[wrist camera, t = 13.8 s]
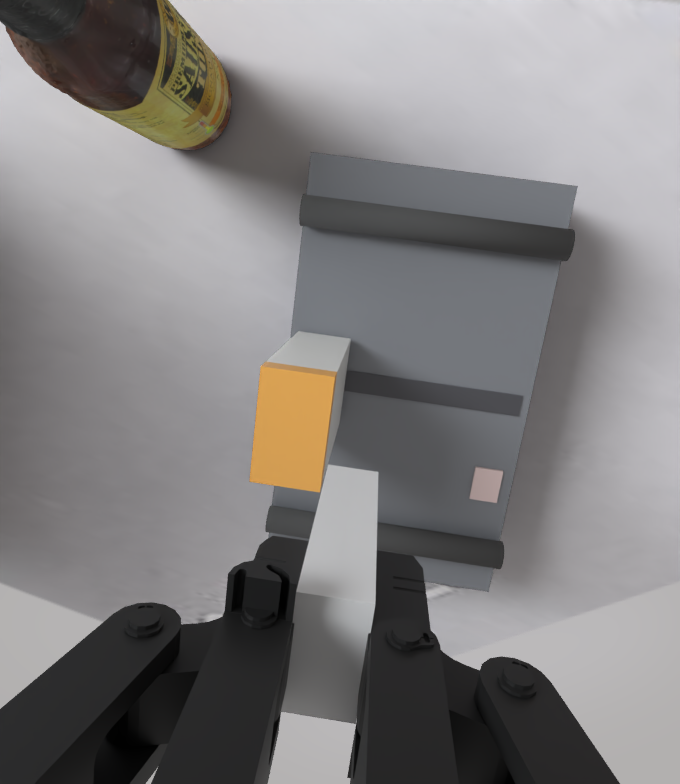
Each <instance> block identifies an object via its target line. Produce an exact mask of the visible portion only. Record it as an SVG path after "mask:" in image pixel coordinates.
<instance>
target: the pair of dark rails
mask: <svg viewBox="0 0 680 784" xmlns="http://www.w3.org/2000/svg"><path fill="white" fill-rule="evenodd" d="M299 220H300V226H307V227H314V228H322V229H329V230H337V231H344V232H352V233H359V234H367V235H374V236H382V237H389V238H397V239H404V240H412V241H419V242H427V243H434V244H441V245H449V246H456V247H464V248H471V249H479V250H486V251H494V252H501V253H509V254H516V255H524V256H531V257H539V258H546V259H554V260H561V261H567V260H568V259H569V257H570V255H571V253H572V250H573V246H574V241H575V232H574V230H573V229H565V228H557V227H550V226H542V225H535V224H527V223H519V222H512V221H504V220H496V219H489V218H481V217H474V216H466V215H458V214H451V213H443V212H435V211H428V210H420V209H413V208H405V207H397V206H390V205H382V204H374V203H367V202H359V201H352V200H344V199H336V198H329V197H321V196H313V195H306V194H303V196H302V200H301V206H300V217H299ZM315 515H316V512H310V511H304V510H298V509H291V508H285V507H278V506H272V505H271V506H270V508H269V511H268V515H267V521H266V532H269V533H275V534H282V535H288V536H294V537H301V538H307V539H310V535H311V531H312V527H313V523H314V519H315ZM377 550H382V551H388V552H395V553H401V554H407V555H414V556H420V557H426V558H432V559H439V560H445V561H451V562H457V563H464V564H470V565H476V566H483V567H489V568H495V569H500V568H501V567H502V564H503V559H504V545H503V542H501V541H495V540H489V539H482V538H476V537H470V536H463V535H457V534H450V533H444V532H438V531H431V530H425V529H419V528H412V527H406V526H399V525H393V524H387V523H380V522H377Z"/></svg>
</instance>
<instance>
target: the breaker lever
mask: <svg viewBox="0 0 680 784" xmlns="http://www.w3.org/2000/svg"><path fill="white" fill-rule="evenodd" d="M350 342H351V339H350V338H343V337H336V336H329V335H322V334H315V333H308V332H301V331H298V332H297V333H296V334H295V335H294V336H293V337H292V338H290V339H289V340H288V341H287V342H286V343H285V344H284V345H283V346H282V347H281V348H280V349H279V350H278V351H277V352H276V353H274V354H273V355H272V356H271V357H270V358H269V359H268V360H267V361H266V362H265V363H264V364H263V365H262V366H261V369H260V379H259V389H258V400H257V410H256V420H255V430H254V440H253V450H252V461H251V471H250V481H249V482H255V483H261V484H268V485H274V486H281V487H287V488H293V489H300V490H306V491H313V492H319V493H320V490H321V487H322V483H323V480H324V476H325V473H326V469H327V465H328V462H329V458H330V455H331V451H332V448H333V444H334V441H335V437H336V434H337V430H338V427H339V423H340V416H341V408H342V401H343V394H344V386H345V379H346V372H347V364H348V357H349V350H350Z"/></svg>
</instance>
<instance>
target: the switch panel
mask: <svg viewBox="0 0 680 784" xmlns="http://www.w3.org/2000/svg"><path fill="white" fill-rule="evenodd" d="M576 191H577V186H572V185H564V184H557V183H549V182H541V181H533V180H525V179H517V178H510V177H502V176H494V175H486V174H478V173H470V172H463V171H455V170H447V169H439V168H431V167H423V166H416V165H408V164H400V163H392V162H384V161H376V160H369V159H361V158H353V157H345V156H337V155H329V154H322V153H314V152H311V156H310V165H309V174H308V183H307V192H306V195H313V196H321V197H329V198H336V199H344V200H352V201H359V202H367V203H374V204H382V205H390V206H397V207H405V208H413V209H420V210H428V211H435V212H443V213H451V214H458V215H466V216H474V217H481V218H489V219H496V220H504V221H512V222H519V223H527V224H535V225H542V226H550V227H557V228H565V229H568V227H569V223H570V218H571V214H572V209H573V204H574V200H575V195H576ZM560 264H561V260H554V259H546V258H539V257H531V256H524V255H516V254H509V253H501V252H494V251H486V250H479V249H471V248H464V247H456V246H449V245H441V244H434V243H427V242H419V241H412V240H404V239H397V238H389V237H382V236H374V235H367V234H359V233H352V232H344V231H337V230H329V229H322V228H314V227H307V226H303V228H302V237H301V247H300V256H299V265H298V274H297V283H296V292H295V301H294V310H293V319H292V328H291V338H292V337H293V336H294V335H295V334H296V333H297V332H298V331H301V332H308V333H315V334H322V335H329V336H336V337H343V338H350V339H351V342H350V350H349V357H348V364H347V372H346V379H345V386H344V394H343V401H342V408H341V416H340V423H339V427H338V430H337V434H336V437H335V441H334V444H333V448H332V451H331V455H330V458H329V462H328V465H335V466H342V467H348V468H355V469H362V470H368V471H375V472H378V512H377V522H380V523H387V524H393V525H399V526H406V527H412V528H419V529H425V530H431V531H438V532H444V533H450V534H457V535H463V536H470V537H476V538H482V539H489V540H495V541H500V537H501V532H502V528H503V523H504V519H505V514H506V510H507V505H508V501H509V496H510V491H511V487H512V482H513V478H514V473H515V469H516V464H517V460H518V455H519V450H520V446H521V441H522V437H523V432H524V428H525V423H526V419H527V414H528V409H529V405H530V400H531V396H532V391H533V387H534V382H535V378H536V373H537V368H538V364H539V359H540V355H541V350H542V346H543V341H544V337H545V332H546V327H547V323H548V318H549V314H550V309H551V305H552V300H553V296H554V291H555V286H556V282H557V277H558V273H559V268H560ZM328 465H327V467H328ZM326 471H327V469H326ZM325 475H326V473H325ZM324 479H325V476H324ZM323 483H324V480H323ZM323 483H322V487H323ZM322 487H321V490H320V493H319V492H313V491H306V490H300V489H293V488H287V487H281V486H274V492H273V501H272V506H278V507H285V508H291V509H298V510H304V511H310V512H316V511H317V507H318V503H319V499H320V495H321V491H322ZM271 536H279V537H286V538H292V539H299V540H305V541H309V539H307V538H301V537H294V536H288V535H282V534H275V533H269V538H270V537H271ZM380 551H382V550H380ZM387 552H388V551H387ZM393 553H395V552H393ZM400 554H401V553H400ZM406 555H407V554H406ZM413 556H414V555H413ZM414 557H415V559H416V560H417V561H418V562H419V564H420V565H421V566H422V568H423V573H424V581H425V582H431V583H437V584H443V585H449V586H456V587H462V588H468V589H474V590H480V591H487V592H489V587H490V582H491V578H492V573H493V569H494V568H489V567H483V566H476V565H470V564H464V563H457V562H451V561H445V560H439V559H432V558H426V557H420V556H414Z"/></svg>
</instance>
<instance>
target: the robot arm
mask: <svg viewBox="0 0 680 784" xmlns="http://www.w3.org/2000/svg"><path fill="white" fill-rule="evenodd" d="M377 512H378V472H375V471H368V470H362V469H355V468H348V467H342V466H335V465H328V467H327V471H326V475H325V479H324V483H323V487H322V491H321V495H320V499H319V503H318V507H317V511H316V515H315V519H314V523H313V527H312V531H311V535H310V539H309V541H305V540H299V539H292V538H286V537H279V536H271V537H270V538H268V539H267V540H266V541H264V542H263V543H262V544H260V546H259V549H258V551H257V553H256V556H255V559H254V561H249V562H243V563H241V564H239V565H237V566H235V567H234V568H233V569H232V570H231V571H230V572H229V573H228V582H227V593H226V604H225V612H224V614H223V617H221V618H219V619H216V620H213V621H210V622H205V623H198V624H183V625H181V618H180V616H179V615H178V614H177V612H176V611H175V610H174V609H172V608H170V607H168V606H166V605H163V604H157V603H138V604H134V605H131V606H127V607H124V608H123V609H121V610H119V611H118V612H116V613H114V614H113V615H112V616H110V617H109V618H108V619H107V620H106V621H104V622H103V623H102V624H101V625H100V626H99V627H97V628H96V629H95V630H94V631H93V632H92V633H90V634H89V635H88V636H87V637H86V638H85V639H83V640H82V641H81V642H80V643H78V644H77V645H76V646H75V647H74V648H72V649H71V650H70V651H69V652H68V653H66V654H65V655H64V656H63V657H62V658H60V659H59V660H58V661H57V662H56V663H55V664H53V665H52V666H51V667H50V668H49V669H47V670H46V671H45V672H44V673H43V674H42V675H40V676H39V677H38V678H37V679H35V680H34V681H33V682H32V683H31V684H30V685H28V686H27V687H26V688H25V689H24V690H22V691H21V692H20V693H19V694H18V695H17V696H15V697H14V698H13V699H12V700H10V701H9V702H8V703H7V704H6V705H5V706H3V707H2V708H1V709H0V784H146V782H147V781H148V779H149V778H150V777H151V775H152V774H153V773H154V771H155V770H156V768H157V767H158V766H159V767H158V769H157V771H156V774H155V776H154V778H153V781H152V783H151V784H267V783H268V778H269V774H270V769H271V765H272V760H273V755H274V750H275V746H276V741H277V736H278V730H279V722H280V714H281V712H288V713H294V714H300V715H306V716H312V717H318V718H324V719H330V720H336V721H342V722H349V723H354V724H356V729H355V735H354V741H353V747H352V753H351V759H350V765H349V772H348V778H351V781H350V784H620V783H619V782H618V781H617V779H616V777H615V776H614V774H613V773H612V772H611V770H610V768H609V767H608V766H607V764H606V763H605V761H604V760H603V758H602V757H601V755H600V754H599V752H598V751H597V749H596V748H595V746H594V745H593V744H592V742H591V741H590V739H589V738H588V736H587V735H586V733H585V732H584V730H583V729H582V727H581V726H580V724H579V723H578V721H577V720H576V718H575V717H574V716H573V714H572V713H571V711H570V710H569V708H568V707H567V705H566V704H565V702H564V701H563V699H562V698H561V696H560V695H559V694H558V692H557V691H556V689H555V688H554V686H553V685H552V683H551V682H550V681H549V680H548V679H547V678H546V677H545V675H544V674H543V673H542V672H541V671H539V670H538V669H536V668H534V667H533V666H531V665H530V664H528V663H526V662H523V661H520V660H518V659H515V658H508V657H496V658H490V659H489V660H487V661H486V662H484V663H483V664H482V666H481V669H480V671H479V670H477V669H474V668H471V667H469V666H466V665H464V664H462V663H460V662H458V661H455V660H453V659H452V658H450V657H449V656H447V655H446V654H445V653H443V652H442V651H441V650H440V644H439V642H438V639H437V637H436V635H435V634H434V633H433V632H432V631H431V630H430V622H429V614H428V606H427V598H426V589H425V583H424V573H423V568H422V566H421V565H420V564H419V562H418V561H417V560H416V559H415V557H414V556H413V555H406V554H400V553H393V552H387V551H380V550H377ZM356 718H357V723H356Z"/></svg>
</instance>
